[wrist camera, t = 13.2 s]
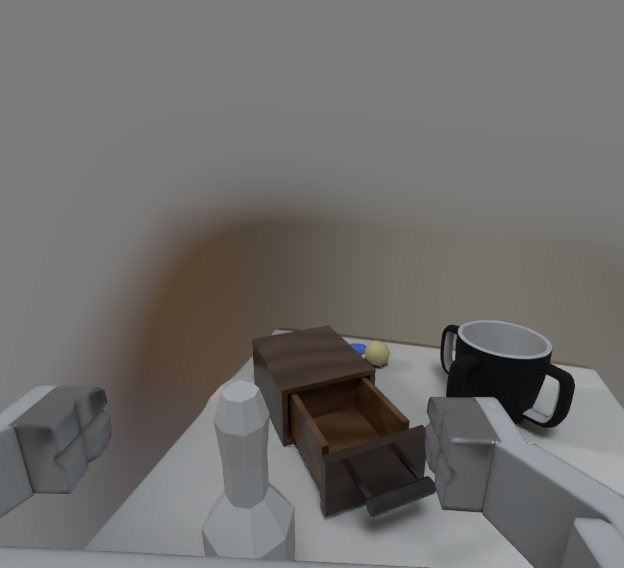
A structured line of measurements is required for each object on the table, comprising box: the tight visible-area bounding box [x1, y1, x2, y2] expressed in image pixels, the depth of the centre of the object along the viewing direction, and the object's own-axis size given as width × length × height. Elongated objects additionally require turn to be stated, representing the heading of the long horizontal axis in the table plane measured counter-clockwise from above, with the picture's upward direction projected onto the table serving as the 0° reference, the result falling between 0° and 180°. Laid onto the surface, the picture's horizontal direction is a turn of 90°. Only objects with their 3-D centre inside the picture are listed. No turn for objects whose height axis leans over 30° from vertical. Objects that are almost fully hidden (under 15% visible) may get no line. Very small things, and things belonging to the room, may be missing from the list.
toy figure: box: [349, 340, 390, 368], centre depth 71 cm, size 11×9×5 cm
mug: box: [440, 320, 575, 428], centre depth 56 cm, size 16×16×12 cm
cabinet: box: [252, 326, 375, 446], centre depth 58 cm, size 16×14×9 cm
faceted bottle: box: [202, 381, 295, 561], centre depth 28 cm, size 6×6×22 cm
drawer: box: [287, 376, 436, 517], centre depth 45 cm, size 19×12×7 cm, turn 22°
